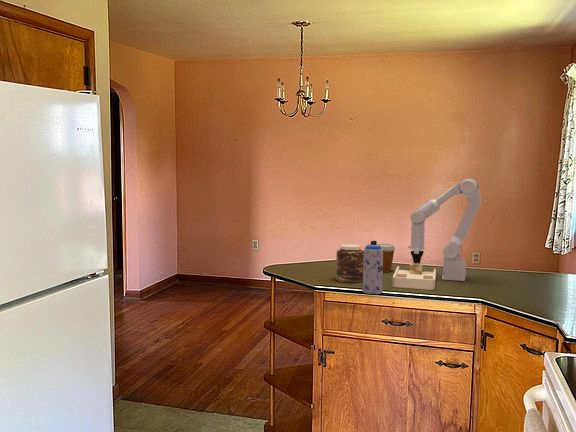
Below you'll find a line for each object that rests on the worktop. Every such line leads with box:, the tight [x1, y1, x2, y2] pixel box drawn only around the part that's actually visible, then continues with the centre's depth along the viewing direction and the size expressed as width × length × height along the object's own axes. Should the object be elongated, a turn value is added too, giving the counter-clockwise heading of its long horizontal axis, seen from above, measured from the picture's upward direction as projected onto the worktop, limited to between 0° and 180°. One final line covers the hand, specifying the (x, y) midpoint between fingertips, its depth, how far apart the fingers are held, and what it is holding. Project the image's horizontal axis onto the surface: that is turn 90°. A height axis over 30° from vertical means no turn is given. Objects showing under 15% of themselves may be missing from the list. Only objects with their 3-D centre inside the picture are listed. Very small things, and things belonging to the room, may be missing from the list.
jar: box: [335, 243, 364, 284], centre depth 228 cm, size 12×12×15 cm
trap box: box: [391, 265, 437, 291], centre depth 225 cm, size 17×24×4 cm
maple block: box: [409, 262, 423, 275], centre depth 231 cm, size 5×5×4 cm
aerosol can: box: [361, 240, 384, 295], centre depth 207 cm, size 8×8×20 cm
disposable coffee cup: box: [377, 243, 396, 273], centre depth 247 cm, size 10×10×12 cm
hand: (416, 267), depth 238 cm, fingers closed
